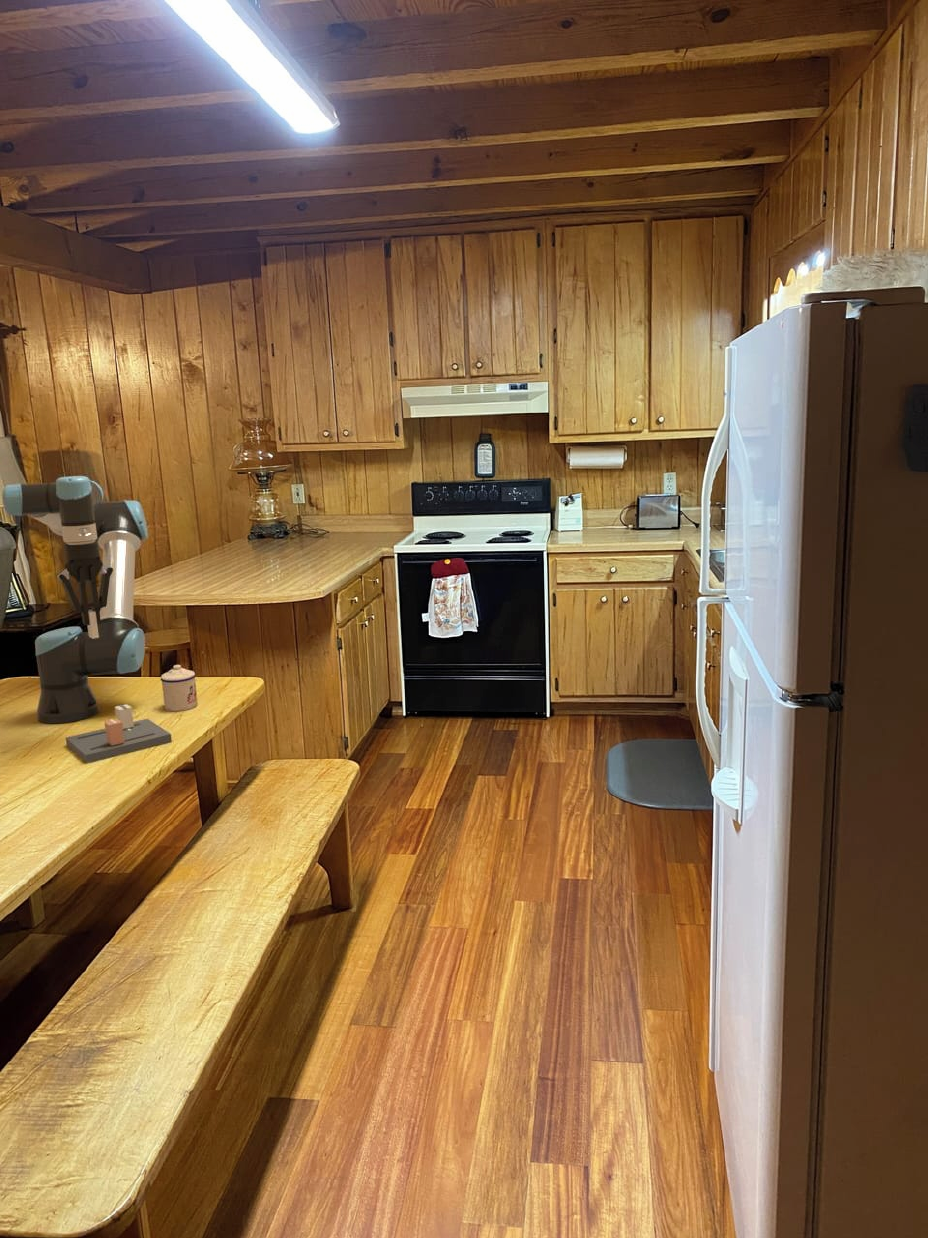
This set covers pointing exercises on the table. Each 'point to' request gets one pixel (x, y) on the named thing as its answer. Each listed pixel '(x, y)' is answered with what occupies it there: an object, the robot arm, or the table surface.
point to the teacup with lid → (179, 689)
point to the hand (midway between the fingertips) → (93, 636)
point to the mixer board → (135, 739)
